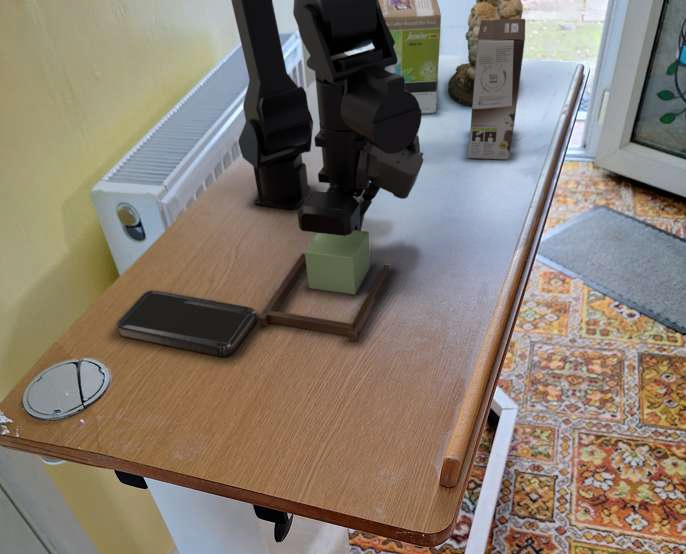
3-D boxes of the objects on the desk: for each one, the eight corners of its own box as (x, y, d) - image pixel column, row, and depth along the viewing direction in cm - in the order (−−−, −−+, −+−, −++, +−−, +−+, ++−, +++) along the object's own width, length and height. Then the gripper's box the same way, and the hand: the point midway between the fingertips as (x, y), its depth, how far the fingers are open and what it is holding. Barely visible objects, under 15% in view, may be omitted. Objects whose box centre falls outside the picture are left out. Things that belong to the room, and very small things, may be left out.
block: (308, 288, 82) (304, 251, 78) (325, 261, 85) (321, 225, 82) (355, 295, 80) (353, 258, 76) (370, 267, 84) (368, 231, 80)
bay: (259, 325, 77) (258, 317, 77) (303, 261, 86) (302, 253, 85) (354, 342, 74) (354, 333, 73) (390, 273, 83) (390, 264, 82)
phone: (227, 350, 73) (112, 326, 77) (229, 358, 74) (115, 334, 78) (258, 308, 78) (148, 288, 82) (260, 316, 78) (151, 295, 83)
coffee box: (510, 160, 100) (525, 39, 88) (467, 159, 102) (476, 39, 90) (512, 134, 106) (527, 17, 94) (471, 133, 108) (480, 17, 95)
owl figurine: (451, 68, 126) (457, -42, 114) (515, 68, 124) (529, -44, 112) (444, 107, 115) (450, -11, 102) (515, 108, 113) (530, -12, 100)
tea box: (438, 113, 113) (442, 12, 102) (378, 117, 114) (376, 17, 103) (431, 80, 123) (434, -15, 112) (377, 84, 124) (374, -11, 113)
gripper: (392, 166, 66) (394, 299, 77) (437, 91, 77) (432, 217, 89) (287, 156, 69) (304, 286, 80) (345, 86, 80) (353, 208, 92)
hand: (353, 247), depth 85 cm, fingers closed
